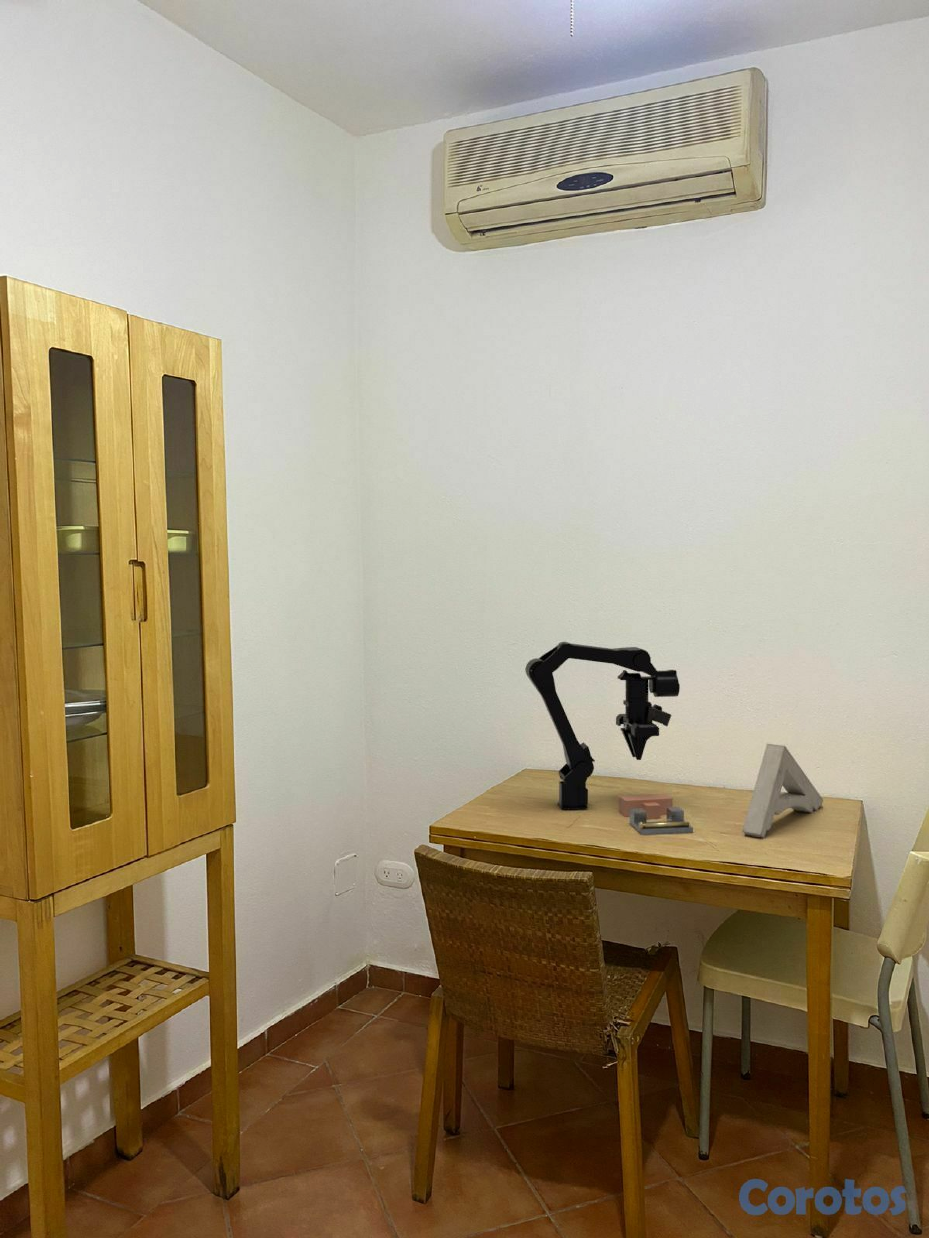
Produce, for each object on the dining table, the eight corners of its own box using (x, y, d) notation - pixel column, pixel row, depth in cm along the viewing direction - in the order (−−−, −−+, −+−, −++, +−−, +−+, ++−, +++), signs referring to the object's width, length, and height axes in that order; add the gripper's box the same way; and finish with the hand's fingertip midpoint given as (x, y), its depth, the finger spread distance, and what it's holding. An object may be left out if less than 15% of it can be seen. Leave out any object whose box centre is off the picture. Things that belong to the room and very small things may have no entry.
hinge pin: (640, 829, 225) (640, 823, 225) (638, 828, 227) (638, 821, 226) (689, 828, 226) (689, 821, 226) (687, 826, 228) (687, 819, 228)
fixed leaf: (641, 834, 224) (641, 819, 224) (629, 823, 234) (629, 808, 234) (692, 832, 226) (692, 817, 226) (678, 821, 235) (678, 806, 235)
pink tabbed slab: (630, 819, 237) (630, 803, 237) (619, 812, 245) (619, 796, 245) (677, 817, 239) (677, 800, 239) (664, 809, 247) (664, 793, 247)
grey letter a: (802, 883, 240) (760, 834, 220) (784, 879, 242) (742, 831, 223) (823, 799, 248) (784, 745, 229) (806, 797, 251) (766, 743, 231)
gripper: (679, 701, 241) (679, 765, 242) (656, 691, 260) (656, 750, 261) (635, 702, 240) (635, 766, 241) (615, 692, 259) (615, 751, 260)
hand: (636, 758), depth 251 cm, fingers open, 3 cm apart
